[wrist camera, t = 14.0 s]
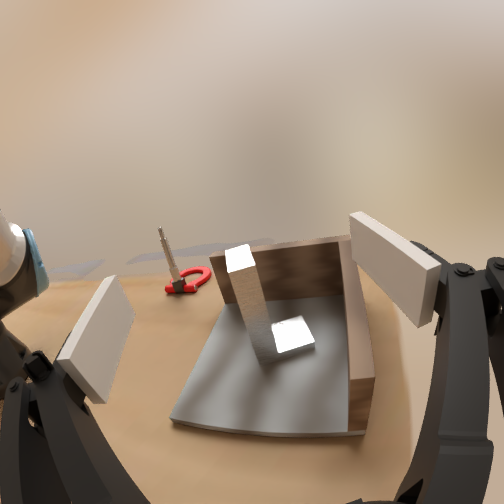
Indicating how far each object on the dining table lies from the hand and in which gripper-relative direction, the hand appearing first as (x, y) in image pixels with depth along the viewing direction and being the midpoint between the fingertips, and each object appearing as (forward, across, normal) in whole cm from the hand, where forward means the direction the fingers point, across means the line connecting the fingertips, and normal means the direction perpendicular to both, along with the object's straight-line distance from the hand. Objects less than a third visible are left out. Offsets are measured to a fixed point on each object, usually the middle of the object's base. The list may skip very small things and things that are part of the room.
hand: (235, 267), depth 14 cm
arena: (+10, +1, -17) cm, 20 cm away
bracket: (+10, +2, -16) cm, 19 cm away
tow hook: (+35, -11, -18) cm, 41 cm away
